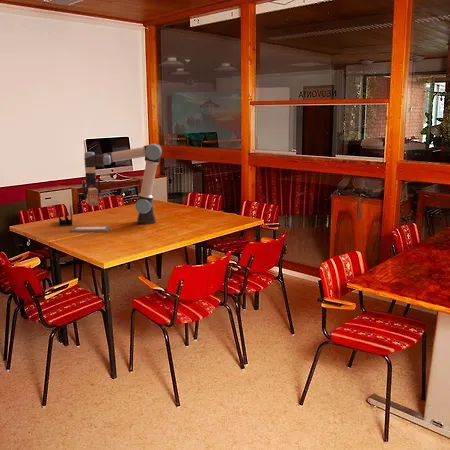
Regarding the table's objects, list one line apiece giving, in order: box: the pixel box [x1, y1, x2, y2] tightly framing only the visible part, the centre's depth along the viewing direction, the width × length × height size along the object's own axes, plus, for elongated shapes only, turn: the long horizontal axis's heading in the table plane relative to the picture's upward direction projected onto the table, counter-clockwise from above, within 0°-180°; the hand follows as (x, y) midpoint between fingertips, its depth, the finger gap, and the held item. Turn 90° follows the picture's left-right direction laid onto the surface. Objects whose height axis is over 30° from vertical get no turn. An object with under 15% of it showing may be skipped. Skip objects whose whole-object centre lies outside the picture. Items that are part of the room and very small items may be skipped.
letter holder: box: [58, 205, 73, 228], centre depth 393 cm, size 10×20×14 cm, turn 17°
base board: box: [70, 225, 111, 233], centre depth 372 cm, size 27×13×2 cm, turn 93°
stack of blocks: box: [87, 186, 99, 207], centre depth 380 cm, size 21×6×12 cm, turn 24°
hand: (92, 202), depth 381 cm, fingers closed on stack of blocks, 7 cm apart
